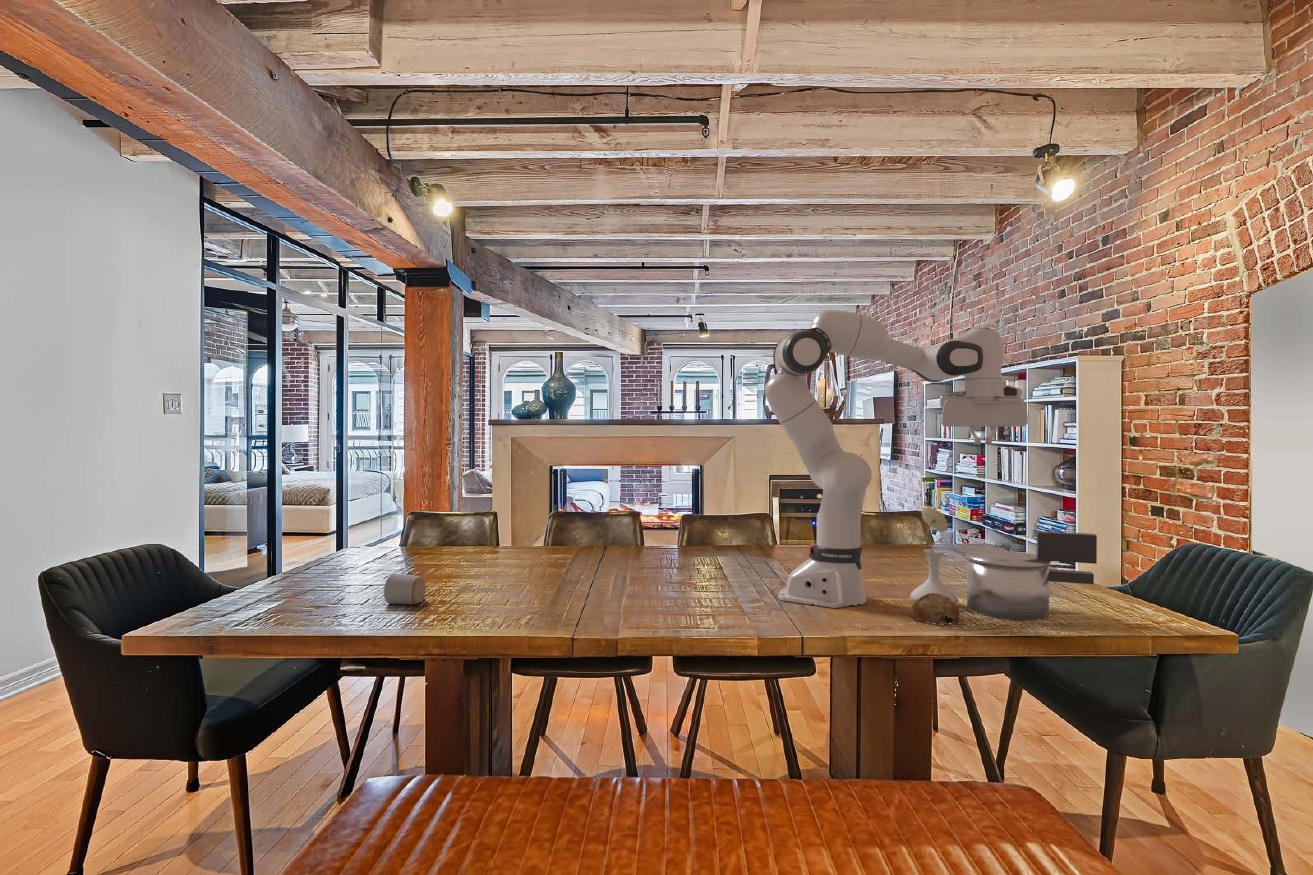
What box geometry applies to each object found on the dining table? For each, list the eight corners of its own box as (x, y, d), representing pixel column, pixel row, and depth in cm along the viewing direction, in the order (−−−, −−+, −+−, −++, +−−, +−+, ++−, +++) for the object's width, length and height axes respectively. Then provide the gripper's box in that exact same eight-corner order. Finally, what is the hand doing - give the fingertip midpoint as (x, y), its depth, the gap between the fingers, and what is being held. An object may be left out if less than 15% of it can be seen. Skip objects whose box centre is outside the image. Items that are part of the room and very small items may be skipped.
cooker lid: (966, 564, 161) (966, 532, 161) (965, 551, 178) (965, 523, 178) (1103, 574, 150) (1103, 540, 150) (1088, 560, 167) (1088, 529, 167)
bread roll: (924, 640, 153) (935, 613, 150) (899, 611, 162) (909, 584, 159) (961, 637, 156) (972, 610, 153) (934, 608, 165) (944, 582, 162)
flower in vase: (966, 610, 166) (966, 509, 165) (919, 610, 166) (920, 509, 166) (944, 597, 179) (944, 504, 178) (901, 597, 179) (901, 503, 179)
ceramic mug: (414, 607, 167) (414, 577, 167) (382, 606, 168) (383, 576, 168) (432, 598, 178) (433, 569, 178) (403, 597, 179) (403, 568, 179)
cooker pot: (968, 615, 161) (969, 565, 161) (964, 598, 178) (965, 553, 178) (1101, 628, 151) (1101, 574, 151) (1083, 608, 168) (1084, 560, 167)
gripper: (940, 391, 175) (939, 444, 175) (1029, 389, 167) (1028, 444, 167) (939, 392, 181) (939, 443, 181) (1025, 391, 173) (1025, 444, 173)
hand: (983, 444), depth 174 cm, fingers closed
